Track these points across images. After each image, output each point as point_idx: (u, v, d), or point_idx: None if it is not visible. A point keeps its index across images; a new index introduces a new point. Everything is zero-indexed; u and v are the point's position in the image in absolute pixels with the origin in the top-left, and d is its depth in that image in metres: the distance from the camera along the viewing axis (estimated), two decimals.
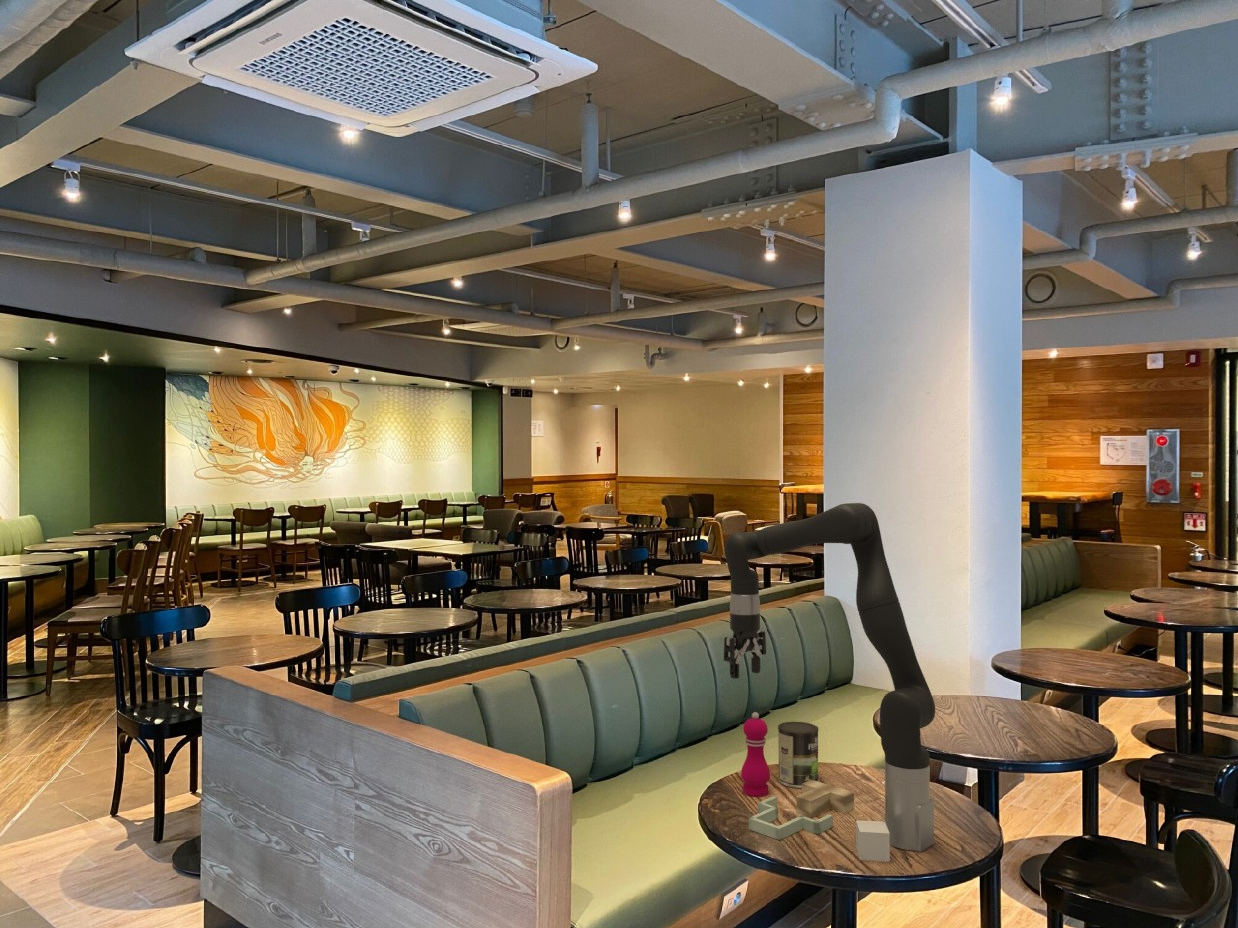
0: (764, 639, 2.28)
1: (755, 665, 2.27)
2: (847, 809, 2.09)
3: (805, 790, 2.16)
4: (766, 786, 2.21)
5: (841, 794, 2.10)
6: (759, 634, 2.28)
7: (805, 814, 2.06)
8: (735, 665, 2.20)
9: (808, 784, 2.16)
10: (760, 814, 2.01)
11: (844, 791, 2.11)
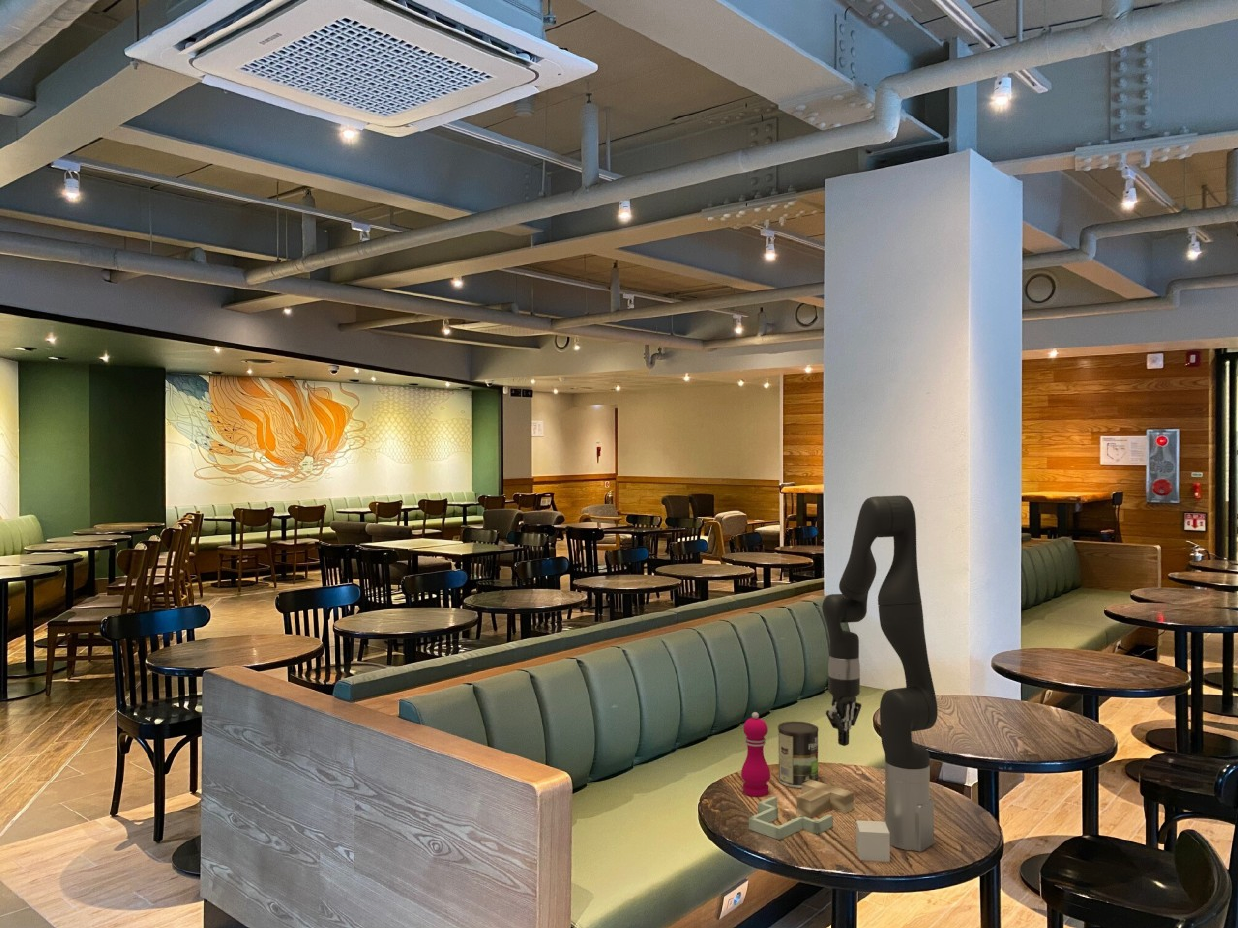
0: (858, 711, 2.21)
1: None
2: (847, 809, 2.09)
3: (805, 790, 2.16)
4: (766, 786, 2.21)
5: (841, 793, 2.10)
6: (855, 703, 2.22)
7: (805, 814, 2.06)
8: (844, 732, 2.18)
9: (808, 784, 2.16)
10: (760, 814, 2.01)
11: (844, 791, 2.11)
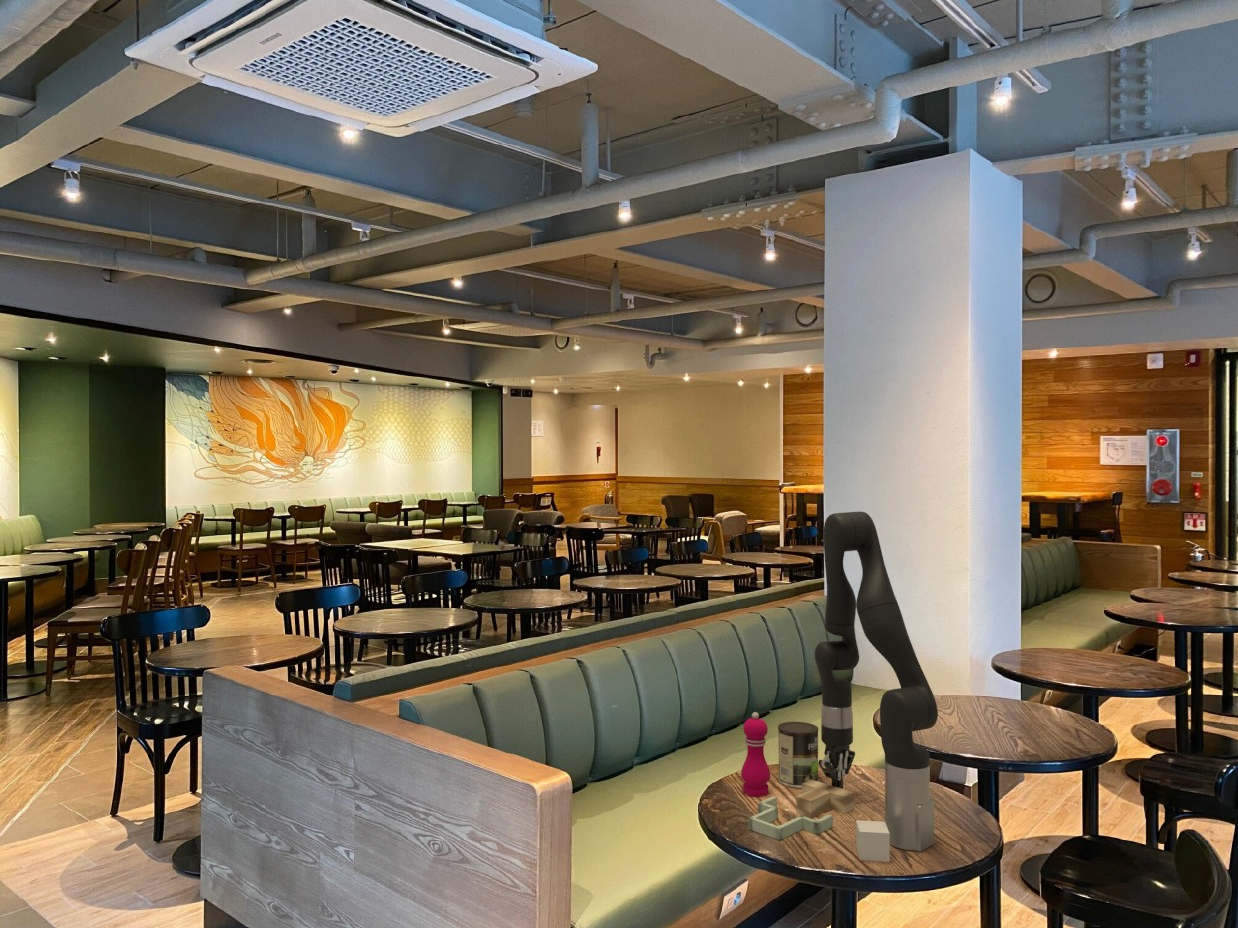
0: (851, 760, 2.19)
1: None
2: (847, 809, 2.09)
3: (805, 790, 2.16)
4: (766, 786, 2.21)
5: (841, 793, 2.10)
6: (849, 751, 2.19)
7: (805, 814, 2.06)
8: (837, 781, 2.15)
9: (808, 784, 2.16)
10: (760, 814, 2.01)
11: (844, 791, 2.11)
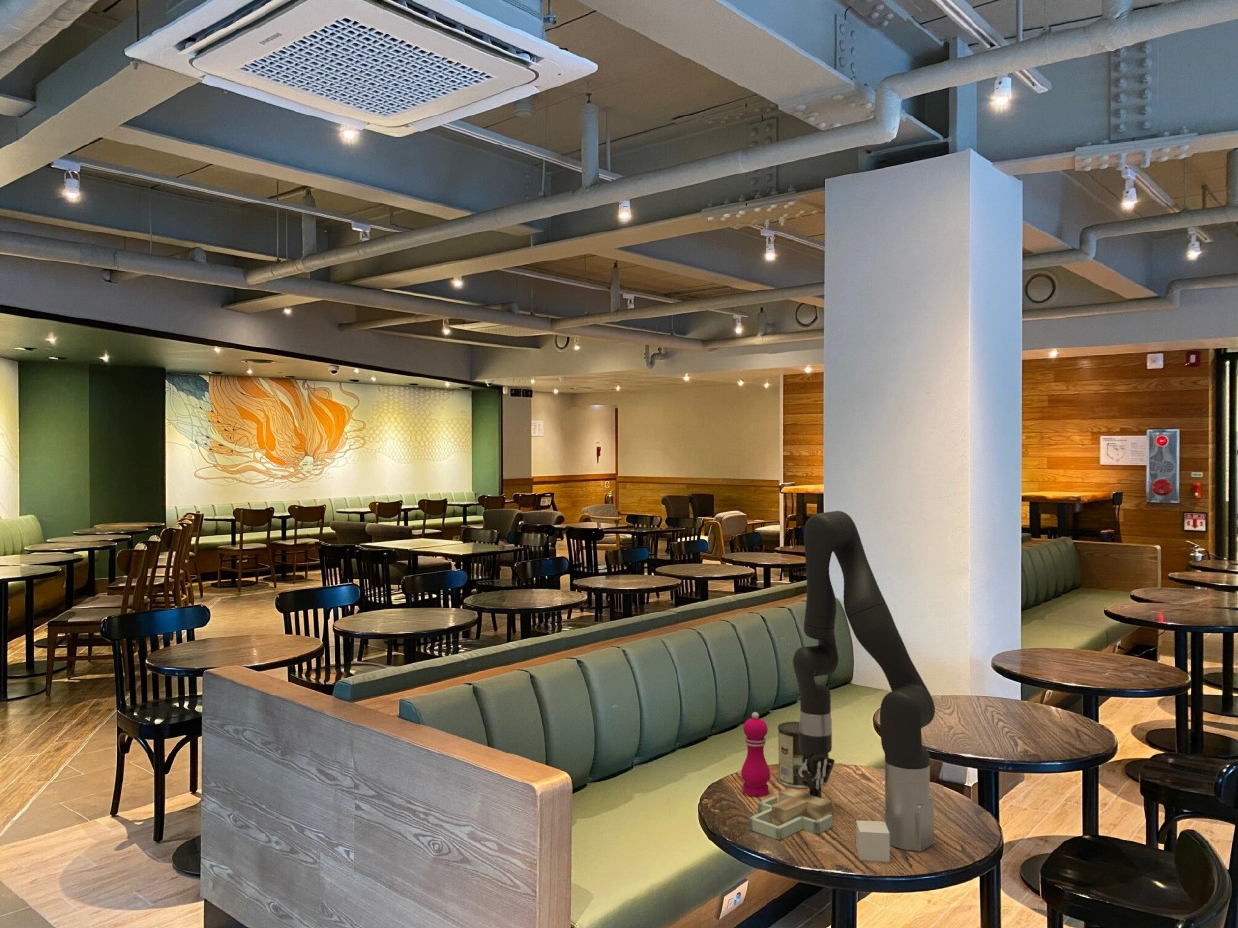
0: (831, 768, 2.13)
1: None
2: None
3: (782, 799, 2.10)
4: (766, 786, 2.21)
5: (818, 803, 2.04)
6: (828, 759, 2.13)
7: (780, 824, 2.01)
8: (815, 790, 2.09)
9: (785, 792, 2.10)
10: (760, 814, 2.01)
11: (821, 800, 2.05)
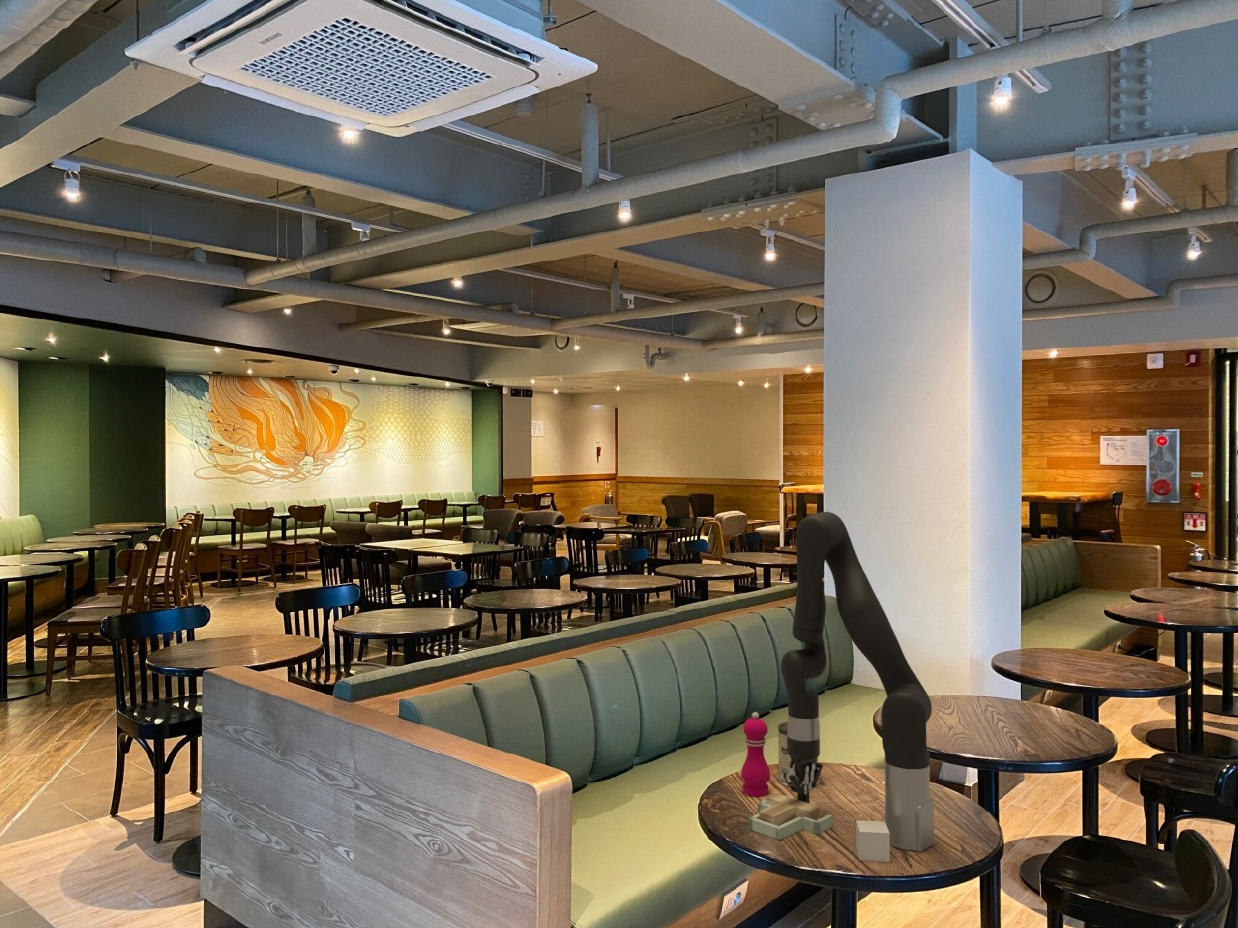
0: (819, 772, 2.10)
1: None
2: None
3: (770, 804, 2.07)
4: (766, 786, 2.21)
5: (806, 808, 2.01)
6: (816, 764, 2.10)
7: None
8: (803, 796, 2.06)
9: (773, 797, 2.07)
10: None
11: (810, 806, 2.02)
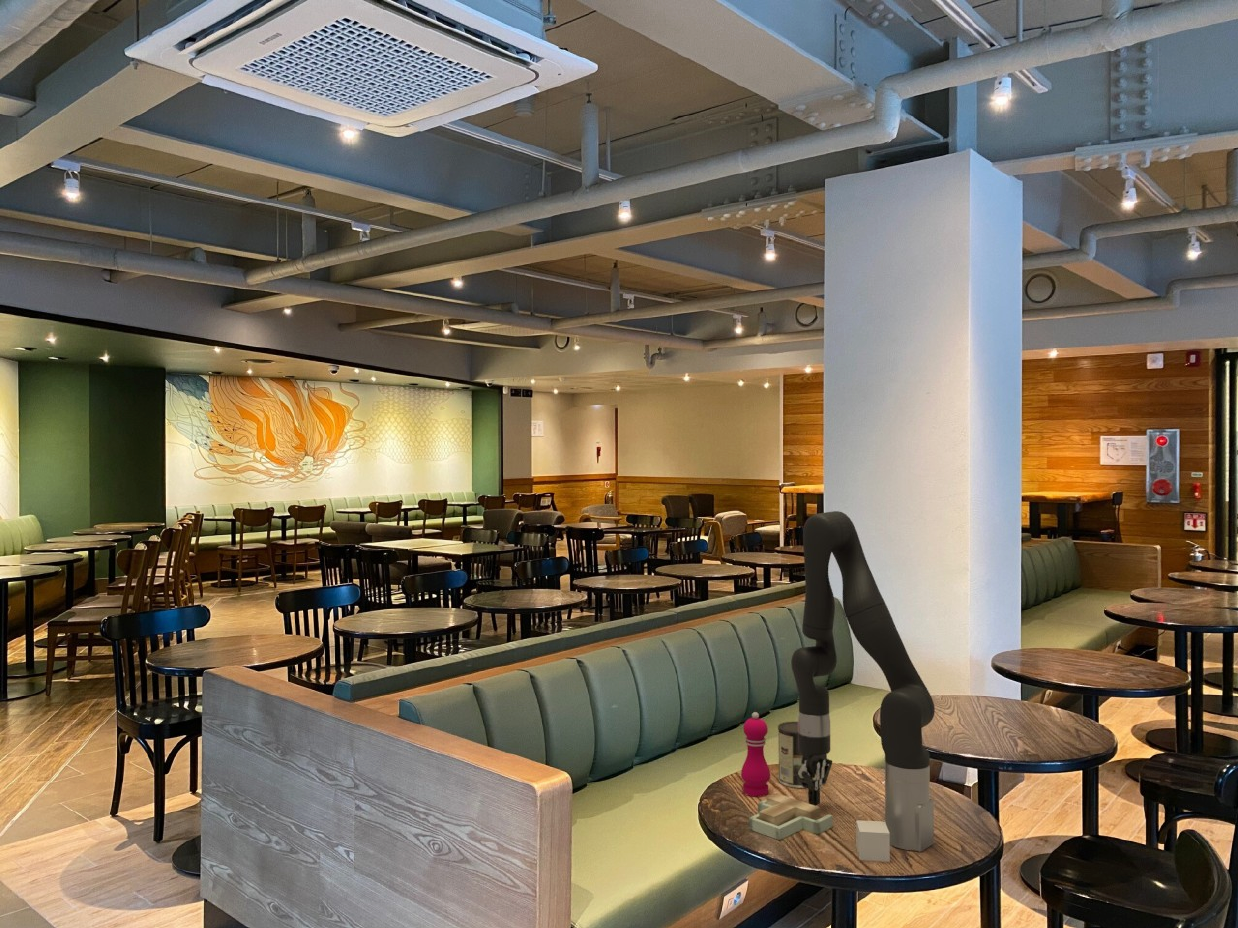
0: (829, 768, 2.12)
1: None
2: None
3: (770, 804, 2.07)
4: (766, 786, 2.21)
5: (806, 809, 2.01)
6: (826, 760, 2.13)
7: None
8: (814, 791, 2.09)
9: (773, 798, 2.07)
10: None
11: (810, 806, 2.02)
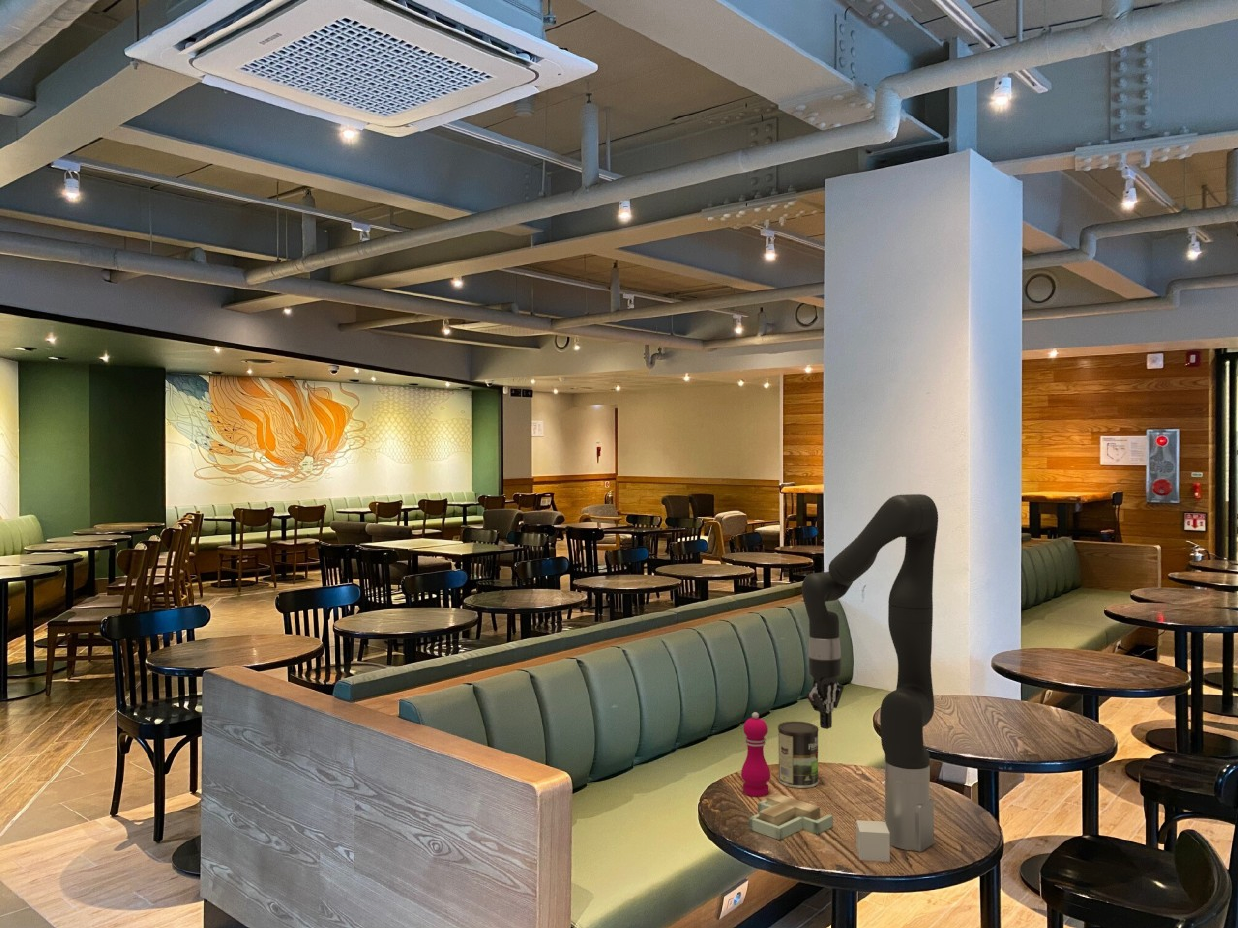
0: (840, 693, 2.16)
1: None
2: None
3: (770, 804, 2.07)
4: (766, 786, 2.21)
5: (806, 808, 2.01)
6: (837, 685, 2.16)
7: None
8: (826, 715, 2.12)
9: (773, 798, 2.07)
10: None
11: (810, 806, 2.02)
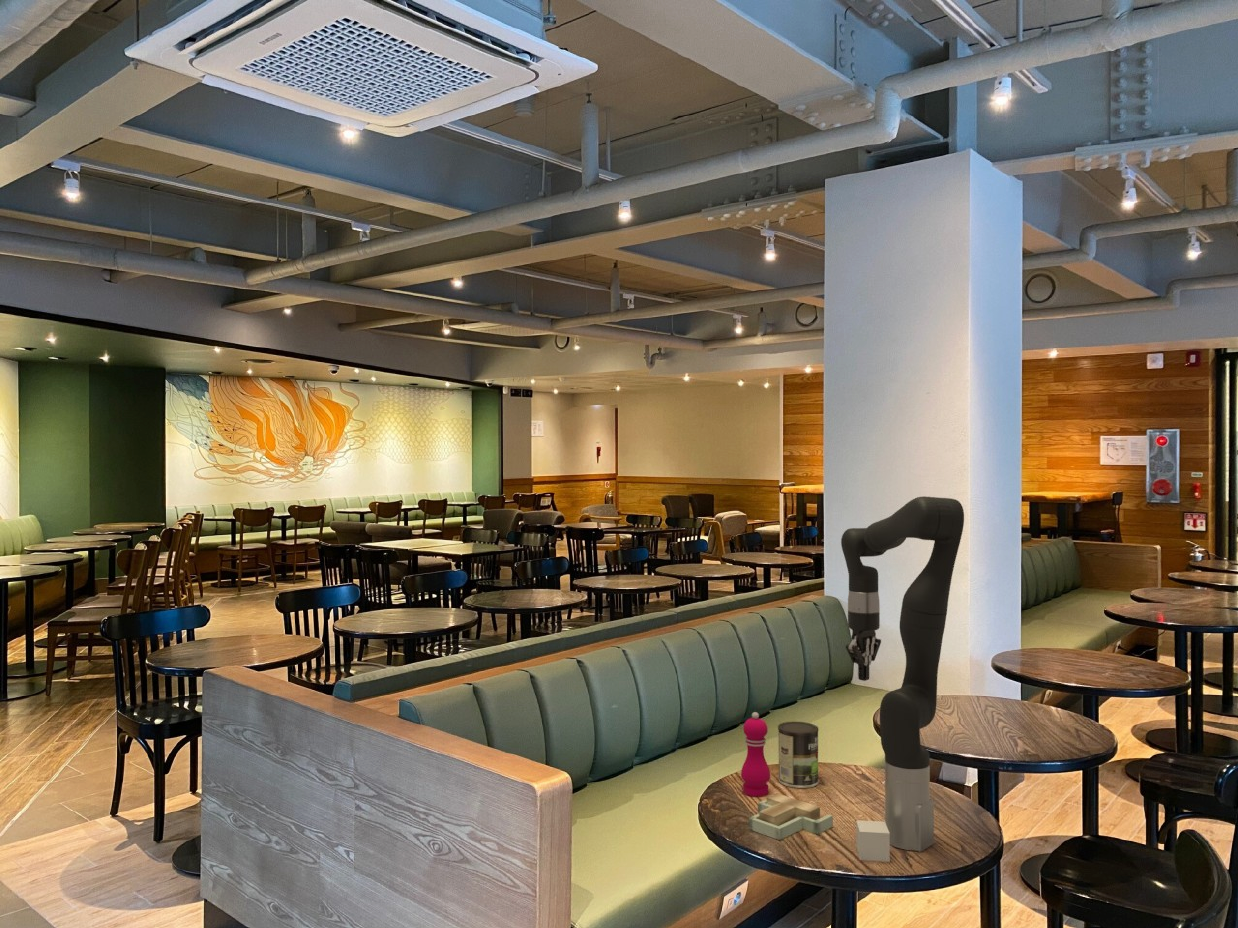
0: (878, 647, 2.20)
1: None
2: None
3: (770, 804, 2.07)
4: (766, 786, 2.21)
5: (806, 808, 2.01)
6: (875, 639, 2.21)
7: None
8: (864, 667, 2.17)
9: (773, 798, 2.07)
10: None
11: (810, 806, 2.02)
